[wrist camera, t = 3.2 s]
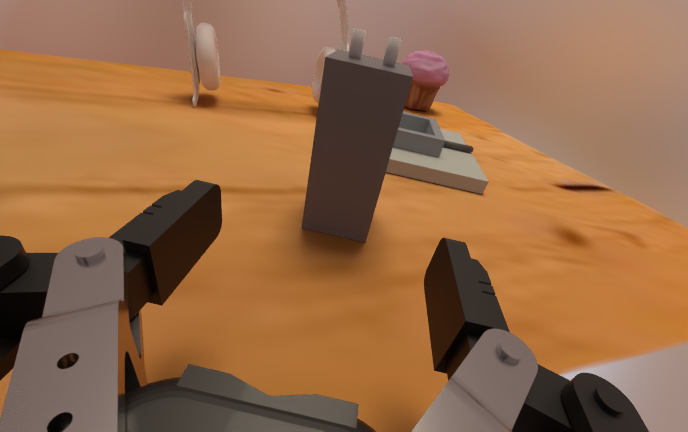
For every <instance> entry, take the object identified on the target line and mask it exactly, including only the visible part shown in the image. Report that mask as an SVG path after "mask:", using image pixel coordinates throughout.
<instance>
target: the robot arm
mask: <svg viewBox="0 0 688 432" xmlns="http://www.w3.org/2000/svg"><path fill="white" fill-rule="evenodd" d="M221 225H222V209H221V190H220V187H219V185H216V184H212V183H208V182H203V181H199V180H195V181H193V182H192V183H191V184H190V185H188V186H187V187H186V188H185V189H184V190H182V191H180V190H177V191H174V192H172V193H169V194H167V195H164V196H162V197H161V198H160V199H158V200H157V201H156V202H154V203H153V204H152V206H149V207H148V208H147V209H145V210H144V211H143V213H140V214H139V215H138V216H136V217H135V218H134V219H132V220H131V221H130V222H128V223H127V224H126V225H125V226H123V227H122V228H121V229H119V230H118V231H117V232H116V233H114V234H113V235H112V236H110V237H109V238H104V237H97V238H90V239H85V240H81V241H78V242H75V243H73V244H71V245H69V246H67V247H66V248H64V249H63V250H61V251H60V252H59V253H26V252H25V250H24V248H23V246H22V244H21V242H20V241H19V240H18V239H16V238H14V237H10V236H0V380H1V379H2V378H3V377H4V376H5V375H6V374H7V373H9V372H10V371H11V370H12V369H13V372H12V376H11V380H10V384H9V388H8V391H7V395H6V399H5V403H4V407H3V411H2V414H1V418H0V432H376V431H375V430H374V429H373V428H371V427H370V426H369V425H367V424H366V423H365V422H363V421H361V420H360V419H358V418H357V415H358V404H356V403H351V402H347V401H343V400H339V399H334V398H330V397H326V396H322V395H317V394H311V395H287V396H270V395H267V394H265V393H263V392H261V391H259V390H258V389H256V388H254V387H252V386H251V385H249V384H247V383H245V382H244V381H242V380H240V379H238V378H237V377H235V376H233V375H231V374H228V373H224V372H220V371H216V370H212V369H207V368H203V367H199V366H195V365H190V364H188V366H187V368H186V369H185V371H184V373H183V374H182V376H181V377H179V378H171V379H165V380H161V381H157V382H153V383H150V384H147V379H146V373H145V364H144V347H143V330H142V315H141V311H140V310H141V308H142V307H143V306H144V305H145V304H146V303H147V302H149V303H154V304H158V305H163V304H164V302H165V301H166V300H167V299H168V297H169V296H170V295H171V294H172V292H173V291H174V290H175V289H176V287H177V286H178V285H179V284H180V282H181V281H182V280H183V279H184V277H185V276H186V275H187V274H188V273H189V271H190V270H191V269H192V268H193V266H194V265H195V264H196V263H197V261H198V260H199V259H200V258H201V256H202V255H203V254H204V253H205V251H206V250H207V249H208V248H209V246H210V245H211V244H212V243H213V241H214V240H215V239H216V238H217V236H218V234H219V232H220V229H221ZM424 290H425V298H426V307H427V315H428V323H429V332H430V340H431V348H432V356H433V365H434V371H438V372H442V373H447V375H448V382H447V384H446V385H445V386H444V388H443V389H442V391H441V392H440V393H439V395H438V396H437V397H436V399H435V400H434V402H433V403H432V404H431V406H430V407H429V408H428V410H427V411H426V412H425V414H424V415H423V417H422V418H421V419H420V421H419V422H418V423H417V425H416V426H415V428H414V429H413V430H412V432H649V431H648V429H647V427H646V426H645V424H644V422H643V420H642V419H641V417H640V415H639V414H638V412H637V410H636V409H635V407H634V405H633V404H632V403H631V402H630V400H629V399H628V398H627V397H626V396H625V395H624V394H623V393H622V392H621V391H620V390H619V389H618V388H616V387H615V386H614V385H612V384H611V383H610V382H608V381H606V380H605V379H603V378H601V377H599V376H597V375H594V374H590V373H580V374H578V375H576V376H575V377H574V378H573V379H572V380H571V381H569V380H567V379H566V378H564V377H562V376H560V375H558V374H556V373H554V372H552V371H550V370H548V369H546V368H544V367H542V366H540V365H539V364H537V361H536V358H535V356H534V354H533V353H532V351H531V350H530V348H529V347H528V346H527V345H526V344H525V343H524V342H523V341H522V340H520V339H519V338H518V337H516V336H515V335H513V334H511V333H510V332H509V329H508V326H507V324H506V321H505V318H504V316H503V313H502V311H501V308H500V305H499V303H498V300H497V297H496V296H495V292H494V289H493V287H492V286H491V281H490V279H489V276H488V273H487V271H486V270H485V269H484V268H483V266H482V265H481V264H480V263H479V262H478V260H475V259H471V257H470V254H469V251H468V248H467V245H466V243H464V242H460V241H456V240H452V239H447V238H442V239H441V240H440V242H439V244H438V246H437V248H436V251H435V253H434V255H433V257H432V259H431V261H430V264H429V266H428V268H427V270H426V274H425V278H424Z"/></svg>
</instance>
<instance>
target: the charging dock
mask: <svg viewBox="0 0 688 432" xmlns="http://www.w3.org/2000/svg"><path fill="white" fill-rule="evenodd" d="M472 151H473V147H472V146H468V145H466V143H465V141H464V140H463V138H462V136H461V135H460V133H457V132H452V131H448V130H443V129H440V127H439V125H438V123H437V121H436V119H432V118H428V117H424V116H419V115H415V114H410V113H406V112H403V114H402V117H401V121H400V124H399V128H398V131H397V135H396V138H395V142H394V145H393V148H392V152H391V155H390V159H389V162H388V166H387V169H386V172H388V173H392V174H396V175H401V176H405V177H409V178H414V179H418V180H422V181H427V182H431V183H436V184H440V185H444V186H449V187H453V188H457V189H462V190H466V191H470V192H475V193H479V194H483V192H484V190H485V188H486V186H487V184H488V182H489V181H488V180H487V178H486V176H485V175H484V173H483V171H482V170H481V168H480V166H479V165H478V163H477V161H476V160H475V158H474V156H473V155H472V153H471V152H472Z"/></svg>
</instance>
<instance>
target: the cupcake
mask: <svg viewBox="0 0 688 432" xmlns="http://www.w3.org/2000/svg"><path fill="white" fill-rule="evenodd" d="M401 64H404V65H409V67H410V70H411V72H412V75H413V79H412V83H411V86H410V90H409V93H408V97H407V100H406V104H405V106H406V107H407V108H409V109H416V110H423V111H427V110H429V109H430V107H431V105H432V103H433V100H434V97H435V95H436V93H437V92H438V90H439V88H440V86H442V85H444V84H445V83H446V82H447V80H448V77H449V69H448V66H447V64H446V62H445V60H444V58H442V57H441V56H439V55H437V54H435V53H433V52H432V51H430V50H429V51H416V52H412V53H411V54H410V55H409V56H407V57H406V58H405V59H404V60H403V62H402V63H401Z"/></svg>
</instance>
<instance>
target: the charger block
mask: <svg viewBox="0 0 688 432" xmlns="http://www.w3.org/2000/svg"><path fill="white" fill-rule="evenodd" d="M365 33H366V31H364V30H360V29H355V28H354V29H353V35H352V40H351V46H350V51H349V52H347V51H343V50H336V51H335V52H333V53H331V54H329V55H328V56H326V57H325V62H324V69H323V76H322V84H321V91H320V98H319V106H318V113H317V120H316V127H315V135H314V142H313V149H312V156H311V164H310V171H309V178H308V186H307V193H306V200H305V207H304V215H303V222H302V228H303V229H308V230H312V231H316V232H321V233H325V234H329V235H334V236H338V237H342V238H347V239H351V240H355V241H360V242H364V243H365V242H366V238H367V235H368V231H369V228H370V224H371V221H372V218H373V214H374V211H375V207H376V204H377V200H378V197H379V193H380V190H381V186H382V183H383V180H384V176H385V173H386V169H387V166H388V162H389V159H390V155H391V152H392V148H393V145H394V142H395V138H396V135H397V131H398V128H399V124H400V121H401V117H402V114H403V111H404V107H405V104H406V100H407V97H408V93H409V90H410V86H411V83H412V79H413V75H412V72H411V70H410V67H409V65H404V64H400V63H396V60H397V56H398V52H399V48H400V44H401V40H402V39H399V38H395V37H390V36H389V39H388V44H387V48H386V52H385V57H384V60H382V59H378V58H374V57H369V56H365V55H361V54H362V49H363V44H364V39H365Z"/></svg>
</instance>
